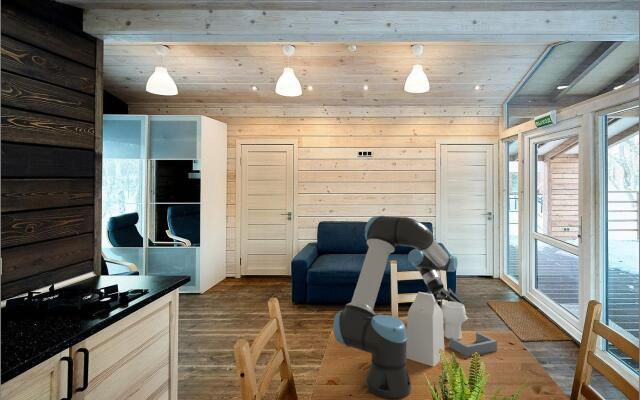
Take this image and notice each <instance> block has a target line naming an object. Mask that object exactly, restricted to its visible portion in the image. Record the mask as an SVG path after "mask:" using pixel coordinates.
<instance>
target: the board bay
mask: <svg viewBox="0 0 640 400" xmlns="http://www.w3.org/2000/svg"><path fill="white" fill-rule="evenodd" d="M475 334H476V335H475V341H476V342H477V343H472V344H468V345H467V344H464V343H462V342H461V341H459V340H456V339H454V338H452V337H450V338H449V339H448V341H449V342H448V343H449V344H448V345H449V346H448V347H449V348H451V349H453V350H454V351H456V352H458V353H460V354H461V355H463V356H465V357H466V358H470V357H473V356H472V354H473V353H475V352H478V353H479V355H483V354H484V355H485V354H487V353H492V352H493V353H494V352H497V351H498V341H497V340H495V339H493V338H492V337H489V336H486V335H485V334H482V333H480V332H479V331H478V332H475Z"/></svg>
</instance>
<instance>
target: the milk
mask: <svg viewBox="0 0 640 400" xmlns="http://www.w3.org/2000/svg"><path fill="white" fill-rule="evenodd" d="M406 320H407V321H406V336H407V339H406V359H408V360H411V361H413V362H414V361H415V362H416V363H417V362H418V363H421V364H423V365H428V366H429V367H430V366H431V367H435V366H436V365H437V364H439V362H440V361H441V360H440V353H439V348H441V349H442V350H443V351H444V352H445V336H444V332H445V329H444V324H443V321H444V320H443V312H442V309H441V306H440V305H439V304H438V302H437V303H436V301H435V298H434V296H433V294H427V292H421V291H418V292H417V294H416V296H415V298H414V300H413V302H412V303H411V306H410V307H409V308H408V312H407V318H406Z"/></svg>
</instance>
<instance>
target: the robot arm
mask: <svg viewBox="0 0 640 400" xmlns="http://www.w3.org/2000/svg"><path fill="white" fill-rule="evenodd" d="M364 237H365V240H366V245H367V247H368V248H367V252H366V255H365V258H364V261H363V265H362V268H361V270H360V273H359V277H358V281H357V283H356V287H355V289H354V292H353V296H352V298H351V302H349V303H346V305H345V308H344V309H342V310H340V311H338V312H337V313H336V314H335V317H334V320H333V328H332V329H333V330H332V331H333V334H334V335H333V336H334V338H335V340H336V341H337V342H338V343H339V344H341V345H344V346H346V347H348V348H349V347H351V348H353V349H357V350H358V351H359V350H360V351H363V352H365V353H369V354H371V364H370V367H369V370H368V373H367V376H366V388H367V390H368V391H369V392H370V393H371V394H373V395H374V396H376V397H379V398H382V399H389V400H390V399H391V400H398V399H402V398H405V397H407V396H409V395H410V393H411V391H412V381H411V378H410V375H409V371H408V369H407V358H406V339H407V336H406V332H407V326H406V324H404V322H403V320H401V319H399V318H397V317H395V316H392V315H388V314H376V313H375V311H374V308H375V303H376V301H377V297H378V293H379V291H380V287H381V283H382V280H383V277H384V273H385V270H386V267H387V265H388V259H389V256H390V254H391V253H394V252H395V250H396V246H400V247H411V248H414V249H412V250H411V251H409V253H408V255H407V259H408V261H409V262H410V264H411V265H412V266H414V267H415V269H416V270H418V271H419V274H420V275H421V277H422V279H423V281H424V283H425V285H426V288H427V290H428V291H427V292H426V293H427V294H433V296H434V298H435V301H436V303H437V304H438V302H439V301H442V300H445V301H446V302H448V301H451V302H458V303H461V304H463V305H464V306H465V302H464V301H463V300H462V299H461V298H460V297H459V296H457V294H456V293H455V292H453V291H452V289H451V288H450V287H449V288H447V289H446V288H445V287H444V283H443V281H442V279H441V278H440V276H439V274H438V272H437V271H444V272H453V273H455V272H456V270H457V267H458V258H457V256H455V255H451V254H449V255H448V254H447V252H446V251H445V250H444V248H443V247H442V246H441V245H440V244H439V243H438V242H437V240H435V239H434V234H433V232H432V231H431V229H429V228H428V226H426V225H424V224H423V223H421V222H420V221H418V220H416V219H414V218H412V217H411V218H410V217H406V216H387V215H379V216H378V215H376V216H372V217H370V218H369V220H368V221H367V223H366V225H365V228H364ZM468 319H469V318H468V316H467V315H466V313H465V319H464V321H463V323H464V322H466V321H467V320H468ZM443 325H445V322H444V320H443Z"/></svg>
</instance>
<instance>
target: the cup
mask: <svg viewBox="0 0 640 400" xmlns="http://www.w3.org/2000/svg"><path fill="white" fill-rule="evenodd" d="M440 308H441V309H442V312H443V321H444V322H445V323H444V338H446V339H448V340H449V338H450V337H452V338H454V339H456V340H457V341H459V340H461V339H462V335H463V334H462V330H461V329H462V324H463V323H464V319H465V314H466V308H465V304H464V305H463V304H461V303H458V302H451V301H443V302H442V304H441V306H440Z"/></svg>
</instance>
